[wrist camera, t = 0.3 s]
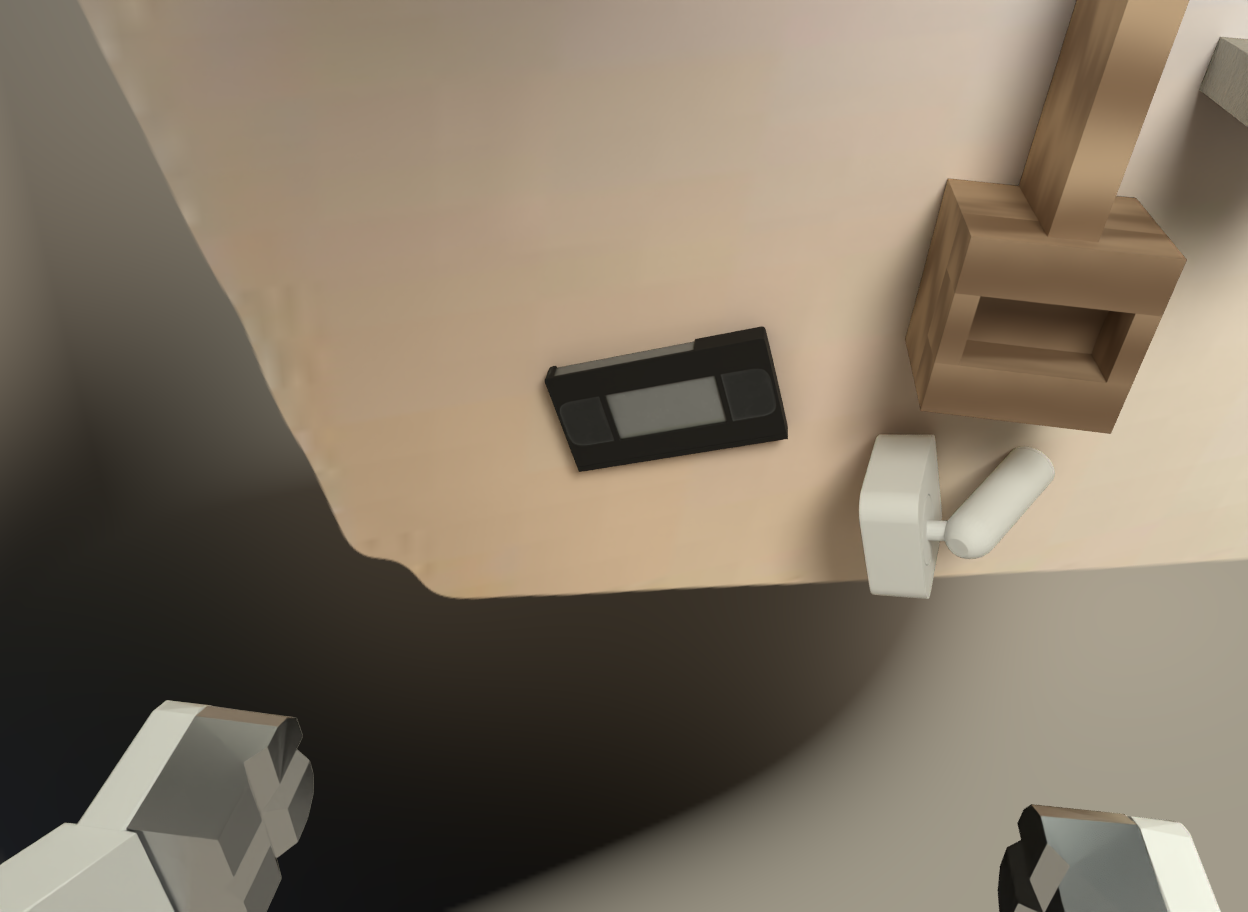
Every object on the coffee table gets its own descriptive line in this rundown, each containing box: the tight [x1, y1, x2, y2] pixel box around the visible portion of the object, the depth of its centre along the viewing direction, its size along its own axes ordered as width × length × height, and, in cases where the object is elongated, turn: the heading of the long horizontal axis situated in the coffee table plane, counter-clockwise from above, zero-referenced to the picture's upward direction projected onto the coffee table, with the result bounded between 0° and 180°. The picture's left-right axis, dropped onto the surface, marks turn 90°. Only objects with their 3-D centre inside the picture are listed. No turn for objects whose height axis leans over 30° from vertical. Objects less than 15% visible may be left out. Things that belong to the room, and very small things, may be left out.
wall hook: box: [859, 434, 1055, 599], centre depth 60 cm, size 8×10×10 cm
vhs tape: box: [545, 327, 788, 472], centre depth 63 cm, size 8×14×2 cm, turn 106°
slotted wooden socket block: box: [905, 0, 1189, 434], centre depth 48 cm, size 24×10×8 cm, turn 176°
